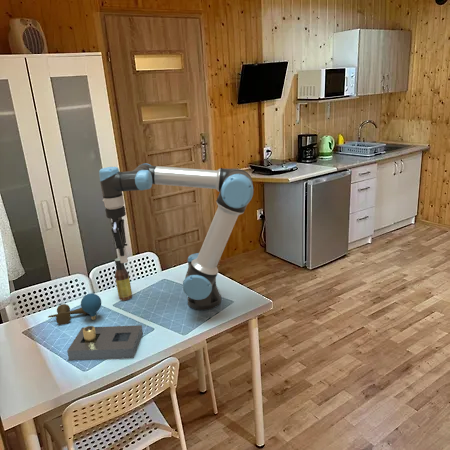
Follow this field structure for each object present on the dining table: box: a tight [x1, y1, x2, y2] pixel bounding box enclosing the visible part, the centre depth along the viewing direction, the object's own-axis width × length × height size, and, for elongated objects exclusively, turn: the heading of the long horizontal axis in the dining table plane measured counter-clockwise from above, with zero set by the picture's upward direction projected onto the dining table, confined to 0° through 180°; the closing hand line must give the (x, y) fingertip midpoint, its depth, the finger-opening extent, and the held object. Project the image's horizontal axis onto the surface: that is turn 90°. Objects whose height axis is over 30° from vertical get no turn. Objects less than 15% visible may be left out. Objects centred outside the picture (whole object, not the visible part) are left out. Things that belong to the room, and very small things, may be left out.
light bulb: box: [80, 292, 102, 321], centre depth 183 cm, size 8×8×12 cm
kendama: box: [47, 303, 90, 326], centre depth 187 cm, size 6×10×20 cm
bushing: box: [83, 325, 97, 343], centre depth 163 cm, size 4×4×8 cm
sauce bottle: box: [114, 257, 133, 302], centre depth 199 cm, size 6×6×20 cm
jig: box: [66, 324, 143, 361], centre depth 164 cm, size 24×16×4 cm, turn 89°
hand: (124, 262), depth 175 cm, fingers closed
